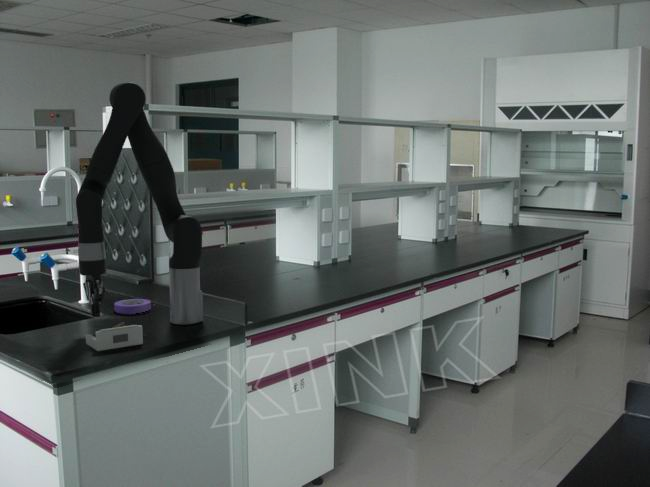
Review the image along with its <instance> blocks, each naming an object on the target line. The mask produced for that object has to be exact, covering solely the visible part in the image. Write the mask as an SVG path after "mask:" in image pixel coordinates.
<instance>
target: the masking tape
mask: <svg viewBox="0 0 650 487" xmlns="http://www.w3.org/2000/svg"><path fill="white" fill-rule="evenodd" d="M151 303H152V302H151V300H150V299H145V298H131V299H128V298H127V299H123V300H118V301H115V302H114V304H113V306H114V308H113V310H114V312H115V313H117V314H122V315H137V314H136V313H140V314H142V313H141V312H145V311H148V310H150V309H151V310H152V304H151ZM151 310H150V311H151ZM148 312H149V311H148ZM145 313H146V312H145Z"/></svg>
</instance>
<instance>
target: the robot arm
mask: <svg viewBox="0 0 650 487" xmlns="http://www.w3.org/2000/svg"><path fill="white" fill-rule="evenodd" d="M109 92H110V93H109V104H110V106H111V111H110V112H111V113H110V117H109V120H108V122H107V125H106V127H105V130H104V131H103V134H102V136H101V138H100V140H99V141H98V143H97V145H96V147H95V149H94V151H93V153H92V155H91V159H90V161H89V163H88V167H87V170H86V171H85V172H86V173H85V177H84V178H83V181H82V183H81V186H80V188H79V189H78V193H77V195H76V198H75V207H76V208H75V209H76V217H77V223H78V224H77V225H78V226H77V240H78V241H77V242H78V243H77V244H78V248H77V254H78V255H77V258H78V272H79V275H81V276H85V280H84V282H83V283H82V285H83V289H84V293H85V296H86V300H87V301H88V302H89V305H90V316H91V317H93V318H98V317H100V316H101V308H100V307H101V306H100V304H101V303H103V299H104V297H105V296H104V295H105V291H106V287H105V286H103V280H102V278H101V275H105V274H106V273H107V270H108V269H107V257H106V256H107V254H106V247H105V236H104V234H105V233H104V227H103V226H104V225H103V198H104V197H105V193H106V190H107V187H108V184H109V183H110V181H111V179H112V177H113V175H114V173H115V170H116V167H117V165H118V162H119V159H120V155H121V154H122V151H123V147H124V145H125V142H126V140H127V139H128V141H129V142H128V143H129V144H130V147H131V151H132V153H133V156H134V159H135V161H136V164H137V166H138V167H137V168H138V169H139V171H140V174H141V176H142V178H143V181H144V183H145V184H146V187H147V189H148V191H149V193H150V195H151V198H152V201H153V202H154V203H155V204H154V205H155V206H156V209H157V211H158V214H159V217H160V220H161V224H162V227H163V230H164V234H165V235H166V238H167V239H168V240H169V241H170V242H171V243H172V244H173V246H172V248H173V249H172V256H171V257H170V258H168V259H169V260H168V267H169V268H168V269H169V273H168V274H169V277H168V278H169V312H170V313H169V317H170V318H169V319H170V323H171V324H174V325H193V324H197V323H200V322H203V321H204V305H203V304H204V302H203V301H204V297H203V295H204V293H203V291H202V290H201V283H200V282H201V278H200V277H201V275H200V273H201V272H200V261H201V259H202V254H203V253H202V252H203V229H202V225H201V223H200V222H199V219H197V218H195V217H193V216H190V215H187V214H186V213H185V210H184V209H183V206H182V205H181V202H180V200H179V197H178V192H177V182H176V175H175V170H174V167H173V165H172V162H171V160H170V157H169V156H168V153H167V151H166V149H165V147H164V146H163V144H162V143H161V141H160V140H159V138H158V136H157V135H156V133H155V132H154V130H153V128H152V127H151V125H150V123H149V120H148V118H147V115H146V113H145V110H144V107H145V105H146V101H147V100H146V99H147V98H146V93H145V91H144V89H143V88H142V87H141V85H139V84H138V83H135V82H131V81H127V82H126V81H125V82H121V83H118V84H116V85H115V86H113V87H112V89H111V91H109Z"/></svg>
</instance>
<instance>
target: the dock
mask: <svg viewBox="0 0 650 487" xmlns="http://www.w3.org/2000/svg"><path fill="white" fill-rule="evenodd" d="M143 334H144V333H143V325H141V324H140V325H139V324H138V325H137V324H130V325H126V326H123V327H116V328H112V327H111V328H103V329H99V330H96V331H95V336H94V335H93V334H91V333H89V334H88V333H87V334H85V344H86V345H88V346H89V347H90V348H92V349H93V350H95V351H96V352H101V351H107V350H111V349H112V350H114V349H119V348H125V347H132V346H137V345H143V344H144V340H143V338H144V337H143V336H144V335H143Z"/></svg>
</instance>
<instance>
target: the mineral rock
mask: <svg viewBox="0 0 650 487" xmlns="http://www.w3.org/2000/svg"><path fill="white" fill-rule="evenodd" d="M123 326H127V324H126V322H125V321H122V322H120V323H118V324H116V325H114V326H113V327H111V328H116V327H123Z"/></svg>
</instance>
